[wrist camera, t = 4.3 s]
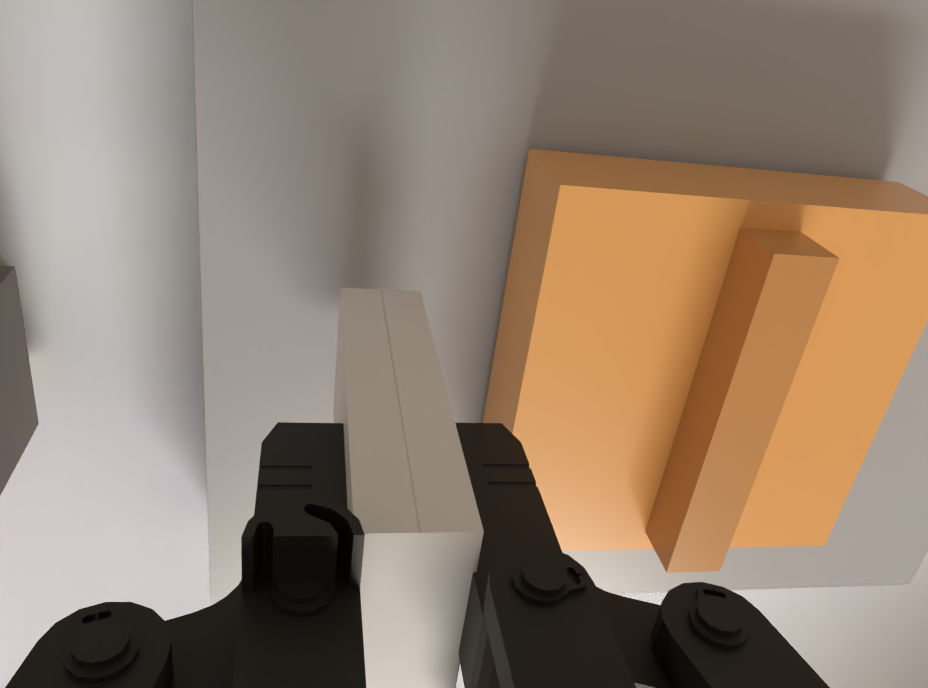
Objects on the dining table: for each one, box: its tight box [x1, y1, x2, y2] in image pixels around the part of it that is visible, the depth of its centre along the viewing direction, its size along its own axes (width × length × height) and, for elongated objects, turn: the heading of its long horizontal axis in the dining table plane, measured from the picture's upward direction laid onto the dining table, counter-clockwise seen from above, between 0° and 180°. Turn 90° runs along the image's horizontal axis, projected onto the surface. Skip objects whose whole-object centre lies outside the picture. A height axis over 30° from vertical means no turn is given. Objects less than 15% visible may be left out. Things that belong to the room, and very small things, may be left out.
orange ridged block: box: [483, 149, 928, 573], centre depth 16 cm, size 8×8×3 cm
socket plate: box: [192, 0, 928, 606], centre depth 19 cm, size 20×16×3 cm
